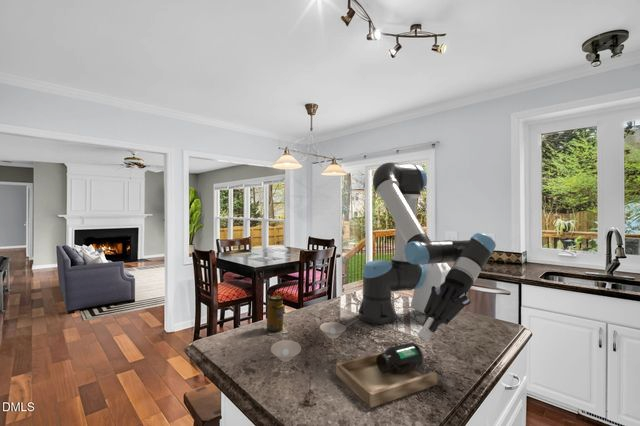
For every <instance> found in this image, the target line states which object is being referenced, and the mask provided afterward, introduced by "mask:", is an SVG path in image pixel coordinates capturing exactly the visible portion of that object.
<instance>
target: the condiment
mask: <svg viewBox="0 0 640 426" xmlns="http://www.w3.org/2000/svg"><path fill="white" fill-rule="evenodd" d="M283 303H284V301H283V297H282V296H280V295H271V296H269V297H268V303H267V305H266V308H267V309H266V326H262V328H263V329H264V331H265V333H267V334H268V335H269V336H274V335H282V334H286V333H287V334H288V333H289V331H288V330H287V329H286V328H285V327H284V310H285V309H284V304H283Z"/></svg>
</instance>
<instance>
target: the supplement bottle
mask: <svg viewBox="0 0 640 426" xmlns="http://www.w3.org/2000/svg"><path fill="white" fill-rule="evenodd" d="M384 351H385V352H384V353H382V354H379V355H378V356H377V358H376V362H377V366H378V369H379V370H380V372H381V373H392V374H395V375H396V374H400V373H404V372H407V371H411V370H417V369H420V368H421V367H422V365H423V364H424V355H423V352H422V350H421V347H419V346H418V345H417V344H416V343H414V342H406V343H402V344H399V345H394V346H390V347H387V348H386V349H385V350H384Z"/></svg>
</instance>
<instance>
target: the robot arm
mask: <svg viewBox="0 0 640 426" xmlns="http://www.w3.org/2000/svg"><path fill="white" fill-rule="evenodd" d="M427 182H428V177H427V173H426V170H425V169H424V168H423V167H422V166H420V165H418V164H413V163H404V162H403V163H399V162H385V163H382V164H381V165H379V166H378V168H377V169H375V171H374V173H373V176H372V188H373V189H374V192H375V193H376V195H377V197H378V198H381V199H382V201H383V203H384V204H385V205H384V206H386V207H385V208H386V209H387V210H388V212H389V214H390V216H391V218H392V220H393V221H394V223H395V235H394V238H395V239H394V240H395V241H394V245H395V246H394V255H393V256H391V260H389V259H388V260H385V259H377V260H371V261H368V262H366V263H365V264H364V265H363V271H362V300H361V301H360V302H361V303H360V306H359V308H358V312H357V315H358V319H359V320H360V321H362V322H364V323H368V324H373V325H387V324H392V323H394V322H395V320H396V312H395V308H394V306H393V302H392V292H393V293H394V292H401V291H402V292H403V291H412V290H413V291H414V289H417V288H419V287H420V286H421V285H422V284H423V282H424V279H425V271H424V269H423V266H422V265H424V264H432V263H447V264H450V263H454V264H453V265H452V266H451V269H450V271H449V272H448V274H447V275H446V277H445V282H444V283H443V284H441V285H440V287H437V288H435V286H432V288H431V294H430V297H429V300H428V302H427V305H426V307H425V310H424V313H423V314H425V315H426V318H425V320H424V321H423V322H422V324H421V329H420V330H419V332H418V333H417V337H418V338H419V339H420V341H422V342H424V343H427V342H428V340H429V339H430V337H431V335H432V334H433V333H435V332H436V331H437V329H438V328H439V326H440V325H442V324H444V325H448V324H449V323H450V322H451V321H452V320H453V319H454V318H455V317H456V316H457V315H459V313H460V312H461V311H462V310H463V309H464V308H465V307H466V306H468V305H470V304H471V300H470V299H469V297H468V296H467V294H468V292H470V289H471V288H472V287H473V285H474V282H475V281H477V279H478V277H479V275H480V273H481V272H482V271H483V268H484V267H485V266H486V265H487V263H488V261H489V260H490V258H491V256H492V255H493V253H494V251H495V248H496V245H497V244H496V242H495V240H494V239H493V238H492V237H491V236H489V235H488V234H485V233H483V232H482V233H481V232H476V233H474V234H473V235H472V236H471V237H470V239H468V240H466V239H465V240H450V239H448V240H430V237H429V236H428V234H427V233H426V231H425V230H424V228H423V227H422V225H421V223H420V221H419V220H418V219H417V218H418V217H417V208H418V207H417V206H418V204H417V203H418V198H420V197H421V194H422V193H421V192H422V191H424V190H425V188H426V187H427Z"/></svg>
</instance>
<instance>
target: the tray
mask: <svg viewBox="0 0 640 426" xmlns="http://www.w3.org/2000/svg"><path fill="white" fill-rule="evenodd" d="M384 352H385V350H384V351H380V352H376V353H372V354H369V355H364V356H359V357H356V358H353V359H349V360H345V361H341V362H337V363H336V364H335V368H336V369H335V375H336V376H337V378H338V379H339V380H341V382H342V383H344V384H345V385H346V386H347V387H348V388H349V389H350V390H352V392H353V393H354V394H355V395H357V397H359V398H360V399H361V400H362V402H364V403H365V404H366V405H367V406H369V405H370V406H369V407H370V408H376V407H378V406H381V405H384V404H386V402H387V403H389V402H392V401H394V400H397V399H400V398H403V397H406V396H409V395H411V394H414V393H418V392H420V391H424V390H427V389H429V388H432V387H435V386H437V385H438V372H436V371H431V372H428V373H426V374H423V373H421V372H419V371H418V370H417V369H414V370H411V371H407V372H404V373H400V374H396V375H395V374H392V373H381V372H380V370H379V369H378V366H377V362H376V358H377V356H378V355H379V354H382V353H384ZM383 403H384V404H383ZM380 404H381V405H380ZM377 405H378V406H377Z"/></svg>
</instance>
